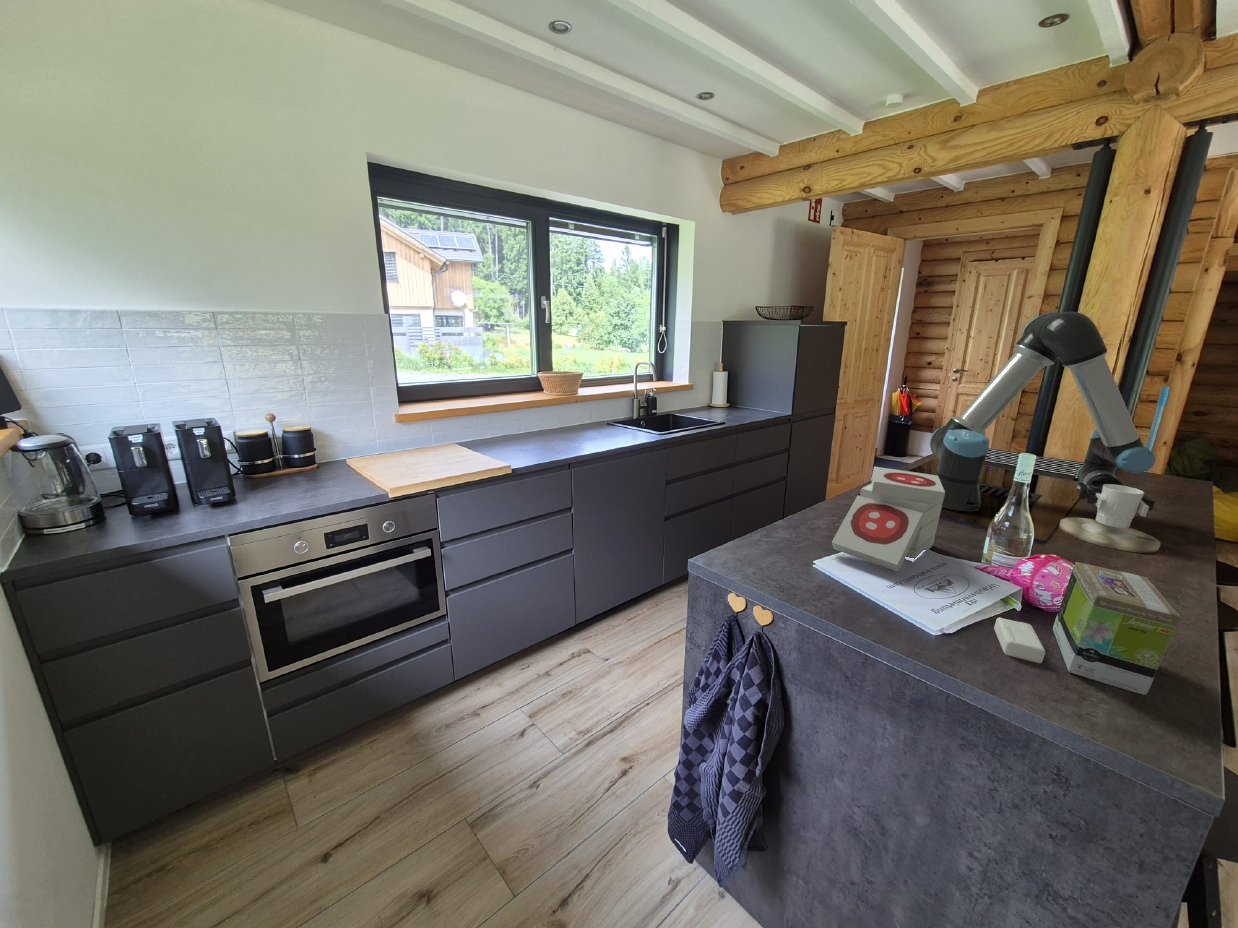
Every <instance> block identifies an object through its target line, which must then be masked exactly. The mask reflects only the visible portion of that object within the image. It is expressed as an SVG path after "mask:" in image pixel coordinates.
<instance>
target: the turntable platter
mask: <svg viewBox="0 0 1238 928" xmlns="http://www.w3.org/2000/svg"><path fill="white" fill-rule="evenodd" d="M1058 527H1059V529H1060V530H1061V531H1062V532H1064V533H1066V534H1068V535H1069V536H1071V537H1074V538H1076V539H1079V540H1081V541H1085V542H1088V543H1090V544H1093V545H1097V546H1100V547H1104V548H1109V549H1113V550H1119V551H1123V552H1129V553H1130V552H1131V553H1138V554H1139V553H1141V554H1143V553H1144V554H1149V553H1156V552H1158V551H1159V549H1160V547H1161V542H1160V541H1159V540H1158V539H1157V538H1155V537H1154V536H1152V535H1150V534H1147V533H1146V532H1143V531H1140V530H1137V529H1135V528H1133V527H1130V526H1129V527H1128V528H1118V527H1112V526H1108V525H1104V524H1102V523H1099V522H1097V521H1096V518H1095V519H1093V518H1087V517H1086V518H1085V517H1075V516H1074V517H1063V518H1061V519H1060V522H1059V526H1058Z"/></svg>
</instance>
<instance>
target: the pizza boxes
mask: <svg viewBox="0 0 1238 928" xmlns="http://www.w3.org/2000/svg"><path fill="white" fill-rule="evenodd" d="M859 493H860V494H859V495H856V497H855V499H854V500H853V502H852V504H851V506H850V508H849V510H848V512H847V514H846V516H845V518H844V519H843V521H842V523H841V524H840V526H839V528H838V530H837V531H836V534H835V535H834V537H833V539H832V541H831V544H832V548H833V550H836V551H839V552H842V553H844V554H847V555H850V556H852V557H855V558H858V559H861V560H863V561H866V562H870V563H872V564H875V565H878V566H880V567H884V568H887V569H889V570H892V571H895V572H899V571H900V569H901V567H902V566H903V563H904V561H905V560H904V559H905V557H909V558H914V559H915V558H916V557H917V556H918V555H919V554H920V553H921V552H922V551H923V550H927V551H929V550H930V548H932V547H933V546H934V542H935V536H936V533H937V529H938V524H939V522H940V521H939V520H940V516H941V511H942V509H943V508H942V504H943V499H944V495H945V491H944V489H943V486H942V484H941V482H940V479H939V477H938V476H937V475H935V474H929V473H921V472H915V471H908V470H901V469H894V468H885V467H879V466H873V470H872V473H871V483H870V484H867V485H866V486H863V487H862V488H860V492H859Z"/></svg>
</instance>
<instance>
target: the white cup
mask: <svg viewBox="0 0 1238 928" xmlns="http://www.w3.org/2000/svg"><path fill="white" fill-rule="evenodd" d="M1101 495H1102V496H1103V498H1104V499H1105V503H1104V506H1103V510H1102V509H1098V508H1097V509H1096V510H1097V512H1096V516H1095V520H1096V521H1097V522H1099V523H1102V524H1104V525H1108V526H1112V527H1118V528H1128V527H1129V528H1130V526H1131V523H1132V521H1133V519H1134V518H1135V516H1136V514H1137V509H1138V507H1139V504H1140V502H1141V499H1142V497H1143V495H1145V492H1144V491H1143V490H1141V489H1138V488H1134V487H1131V486H1126V485H1123V486H1122V485H1114V484H1105V485H1103V488H1102V492H1101Z"/></svg>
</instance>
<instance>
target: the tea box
mask: <svg viewBox="0 0 1238 928" xmlns="http://www.w3.org/2000/svg"><path fill="white" fill-rule="evenodd" d="M1180 618H1181V616H1180V614H1179V613H1178V612H1177V611H1176V609H1175V608H1174V607H1173V606H1172V605H1171V603H1170V602H1169V601H1168V600H1167V599H1166V597H1164V596H1163V594H1162V593H1161V592H1160V590H1158V589H1157V587H1156V586H1155V584H1153V583H1152V581H1150V579H1149V578H1148V577H1147V576H1143V575H1138V574H1133V573H1129V572H1125V571H1120V570H1116V569H1115V570H1114V569H1110V568H1107V567H1102V566H1097V565H1093V564H1088V563H1083V562H1078V561H1075V563H1074V565H1073V567H1072V571H1071V574H1070V576H1069V579H1068V583H1067V586H1066V588H1065V591H1064V595H1063V597H1062V599H1061V603H1060V605H1059V609H1058V612H1057V614H1056V617H1055V619H1054V624H1053V627H1052V632H1053V633H1054V637H1055V638H1056V642H1057V644H1058V647H1059V649H1060V652H1061V655H1062V658H1063V660H1064V663H1065V666H1066V668H1067V671H1068V672H1069V673H1071V674H1074V675H1077V676H1080V677H1083V678H1086V679H1089V680H1093V681H1095V682H1099V683H1103V684H1106V685H1108V686H1112V687H1115V688H1119V689H1123V690H1126V691H1128V692H1132V693H1136V694H1140V695H1142V696H1146V695H1147V694H1148V692H1149V691H1150V688H1151V686H1152V684H1153V682H1154V679H1155V676H1156V674H1157V671H1158V670H1159V667H1160V665H1161V663H1162V660H1163V657H1164V655H1165V653H1166V651H1167V649H1168V646H1169V645H1170V642H1171V639H1172V637H1173V635H1174V633H1175V631H1176V628H1177V627H1178V626H1177V625H1178V623H1179V620H1180Z"/></svg>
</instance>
